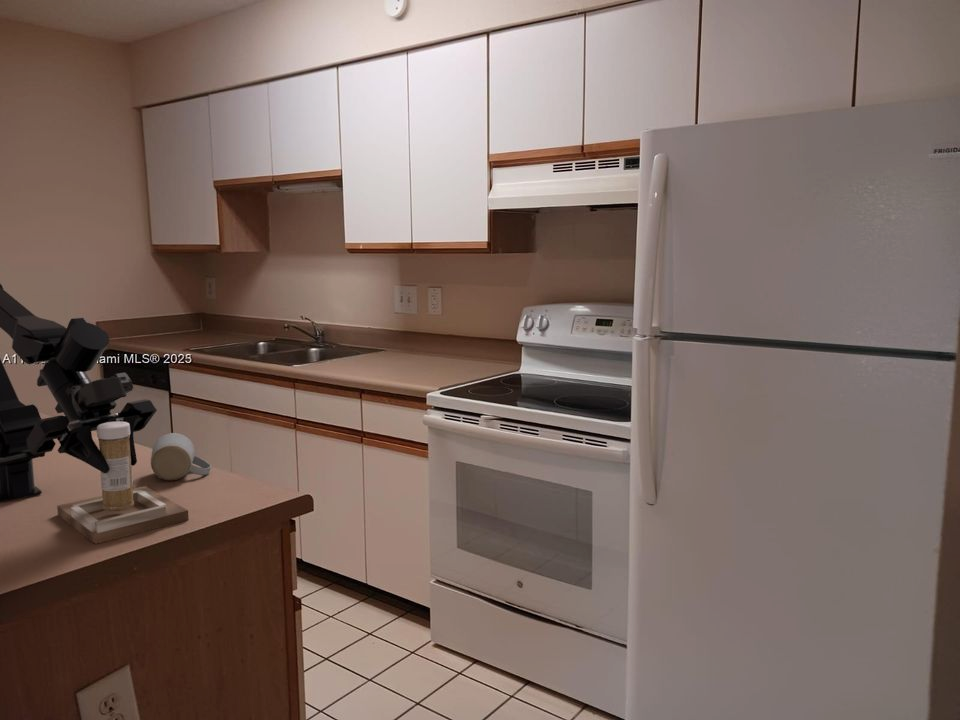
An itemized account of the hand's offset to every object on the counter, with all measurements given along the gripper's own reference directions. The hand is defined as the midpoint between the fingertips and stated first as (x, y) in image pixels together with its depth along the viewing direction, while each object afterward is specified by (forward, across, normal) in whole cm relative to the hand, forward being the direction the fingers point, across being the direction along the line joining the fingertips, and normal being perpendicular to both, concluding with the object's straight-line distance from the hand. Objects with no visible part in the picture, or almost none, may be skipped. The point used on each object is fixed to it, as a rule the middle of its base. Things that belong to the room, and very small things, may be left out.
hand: (121, 467), depth 111 cm
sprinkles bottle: (+4, 0, +6) cm, 7 cm away
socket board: (+4, +2, +9) cm, 10 cm away
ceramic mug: (-3, +22, +17) cm, 28 cm away
